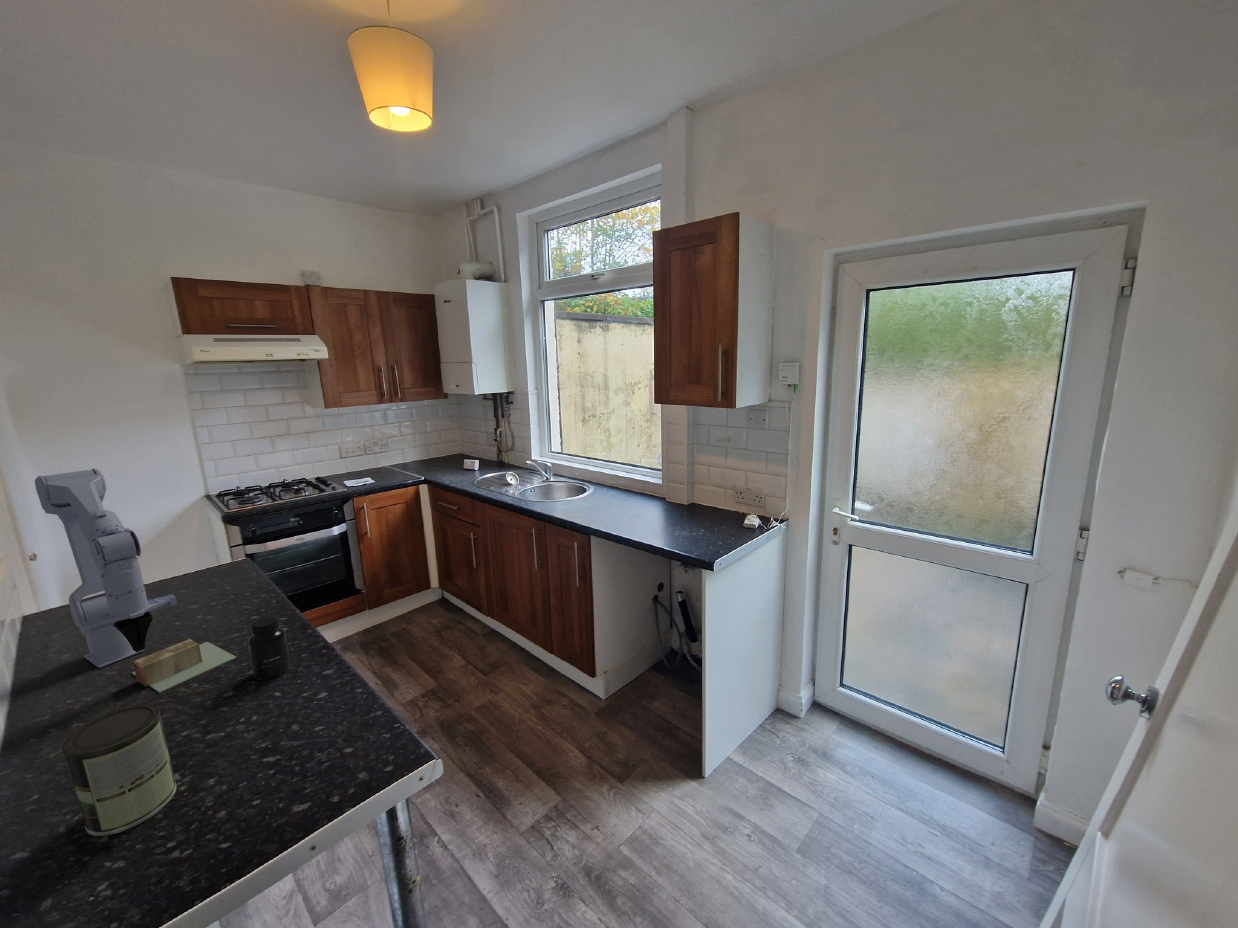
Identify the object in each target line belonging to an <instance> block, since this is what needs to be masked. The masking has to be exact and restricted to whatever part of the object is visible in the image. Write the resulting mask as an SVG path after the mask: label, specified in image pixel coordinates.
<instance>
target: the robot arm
mask: <svg viewBox="0 0 1238 928" xmlns="http://www.w3.org/2000/svg"><path fill="white" fill-rule="evenodd" d="M34 487H35V491H36V494H37V496H38V499H39V503H40V505H41V509H42V510H44V513H45V514H47V515H56V516H57V517H58V518H59V519H60V522H62V524H63V528H64V530H65V534H66V535H67V536H66V537H67V539H68V543H69V546H70V548H71V552H72V555H73V558H74V561H75V565H76V567H77V570H78V573H79V576H80V580H81V584H80V586H78V587H77V588H76V589H75V590H74V591H73V592H71V594H70V595H69V598H68V602H69V603H68V604H69V609H70V614H71V618H72V619H73V622H74V624H75V625H76V627H78V628H79V630H80V634H81V635H83V636H85V639H86V643H87V648H88V651H89V653H87V654H84V655H83V656H84V659H86V660H87V661H89V662H90V663H91V664H93V665H94V666H95V667H97V668H100V669H101V668H103V667H105V666H109V665H111V664H114V663H116V662H118V661H121V660H124V659H126V658H129V657H132V656H134V655H137V654H139V653H142V652H144V651H145V649H146V639H147V635H148V630H149V628H150V626H151V624H152V621H153V617H154V616H153V615H152V614H151V612H154V611H157V610H160V609H163V608H166V607H169V606H170V607H173V606H175V605H177V598H176V596H175V595H173V594H168V595H165V596H161V597H156V598H153V599H152V598H151V599H148V596H147V592H146V588H145V584H144V579H143V574H142V570H141V566H140V562H139V558H138V557H140V556H141V554H142V553H141V552H142V550H141V543H140V540H139V538H138V535H137V534H136V532H135V530H132V529H130V528H129V527H125V526H124V525H123V524H122V522H121V520H120V518H119V517H118V515H117V514H116V513H115V512H113V511H112V510H108V509H105V507H104V505H103V502H104V501H103V500H104V498H105V495H106V491H107V483H106V479H105V476H104V474H103V472H102V471H101V470H100V469H97V468H91V469H86V470H85V469H84V470H79V471H71V472H65V473H64V472H63V473H56V474H48V475H38V476H37V477H36V478H35V479H34ZM101 592H103V593H101ZM98 593H100V594H98ZM95 594H96V595H95ZM91 595H93V596H91ZM87 596H89V597H87ZM85 597H86V598H85Z"/></svg>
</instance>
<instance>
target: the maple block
mask: <svg viewBox="0 0 1238 928" xmlns="http://www.w3.org/2000/svg"><path fill="white" fill-rule="evenodd" d="M199 645H200V644H199V643H198V642H196V641H195V640H192V639H191V638H190V639H187V640H184V641H181V642H179V643H176V644H174V645H171V646H168V647H166V648H163V649H162V650H159V651H156V652H153V653H151V654H149V655H145V656H143V657H141V658H139V659H136V660H134V661H132V666H133V670H134V672H135V675H136V676H135V675H134V676H135V678H136V681H137V682H138V683H140V684H141V685H143V686H144V687H148V686H149V685H151V684H153V683H155V682H158V681H160V680H162V679H165V678H167V677H169V676H171V675H174V674H176V673H178V672H180V671H183V670H185V669H187V668H190V667H192V666H194V665H196V664H199V663H201V662H202V657H201V652H200V647H199ZM149 687H150V686H149Z"/></svg>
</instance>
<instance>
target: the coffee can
mask: <svg viewBox="0 0 1238 928" xmlns="http://www.w3.org/2000/svg"><path fill="white" fill-rule="evenodd" d="M161 715H162V714H161V710H160V708H159V706H157V705H155V704H152V703H139V704H132V705H128V706H124V707H121V708H117V709H114V710H112V711H111V710H110V711H109V712H106V713H104V714H102V715H99V716H97V717H95V718H93V719H91V720H89V721H87V722H86V723H84V724H82V725H81V726H79V727H78V728H76V729H75V730H74V731H72V732H71V733H70V734H69V735H68V736H67V737H66V739H65V740H63V743H62V746H61V749H62V752H63V754H64V755H65V757H66V761H67V762H66V763H67V765H68V768H69V772H70V776H71V780H72V783H73V786H74V789H75V790H74V791H75V792H76V797H77V800H78V804H79V807H80V811H81V814H82V818H83V821H84V829H85V832H87V833H88V834H89V835H91V836H95V837H105V836H106V837H107V836H110V835H115V834H119V833H122V832H124V831H127V830H129V829H132V828H134V827H136V826H138V825H140V824H142V823H143V822H145V821H146V820H148V819H150V818H152V817H153V816H154V815H156V814H157V813H158V812H160V811H161V810H162V809H163V808H164V807H165V806H166V805H167V804H168V803H169V802H170V801H171V800H172V798H173V797H174V795H175V793H176V791H177V787H178V785H177V782H176V780H175V776H174V771H173V767H172V762H171V758H170V754H169V749H168V745H167V741H166V737H165V732H164V728H163V723H162V720H161Z"/></svg>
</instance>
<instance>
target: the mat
mask: <svg viewBox="0 0 1238 928" xmlns="http://www.w3.org/2000/svg"><path fill="white" fill-rule="evenodd" d="M199 647H200V652H201V657H202V662H201V663H199V664H196V665H194V666H192V667H190V668H187V669H185V670H183V671H180V672H178V673H176V674H174V675H171V676H169V677H167V678H165V679H162V680H160V681H158V682H155V683H153V684H151V685H149V687H150V688H152V689H154V690H155V691H156V692H157V693H159V694H162V693H163V692H166V691H167V690H169V689H171V688H174V687H176V686H178V685H180V684H184V683H185V682H187V681H189V680H191V679H193V678H196V677H198V676H200V675H202V674H205V673H207V672H209V671H211V670H213V669H215V668H218V667H220V666H223V665H225V664H226V663H228V662H229V663H230V662H231V661H234V660H236V659H237V656H236V655H234V654H232V653H230V652H228V651H226V650H224V649H223V648H221V647H218V646H217V645H214V644H213V643H211V642H209V641H206V642H202V643H201V644H199ZM131 674H132V675H133V676H135V677H136V675H135V671H133V672H131Z"/></svg>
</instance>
